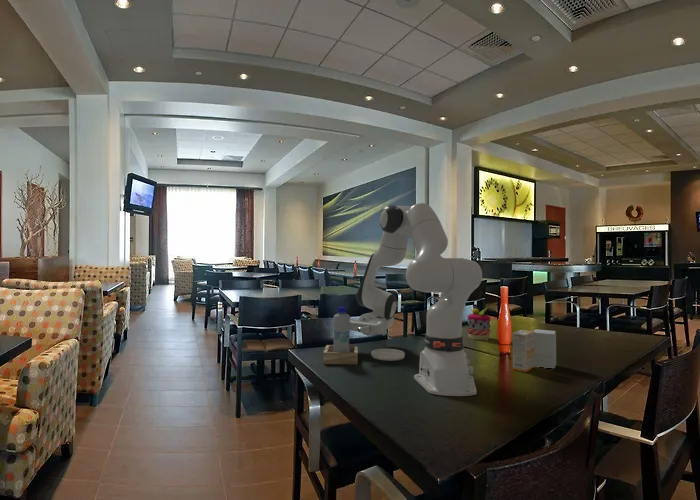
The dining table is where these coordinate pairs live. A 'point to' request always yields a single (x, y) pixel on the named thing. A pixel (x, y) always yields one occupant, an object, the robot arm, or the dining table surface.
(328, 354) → the box
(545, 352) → the supplement box
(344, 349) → the bottle
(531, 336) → the supplement box
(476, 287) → the robot arm
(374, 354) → the ceramic plate
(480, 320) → the cake
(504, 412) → the dining table surface
